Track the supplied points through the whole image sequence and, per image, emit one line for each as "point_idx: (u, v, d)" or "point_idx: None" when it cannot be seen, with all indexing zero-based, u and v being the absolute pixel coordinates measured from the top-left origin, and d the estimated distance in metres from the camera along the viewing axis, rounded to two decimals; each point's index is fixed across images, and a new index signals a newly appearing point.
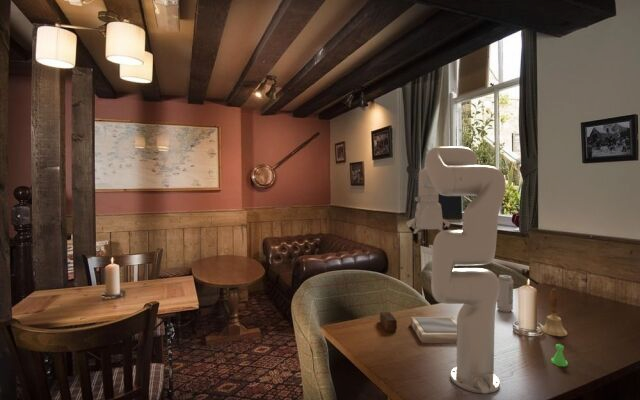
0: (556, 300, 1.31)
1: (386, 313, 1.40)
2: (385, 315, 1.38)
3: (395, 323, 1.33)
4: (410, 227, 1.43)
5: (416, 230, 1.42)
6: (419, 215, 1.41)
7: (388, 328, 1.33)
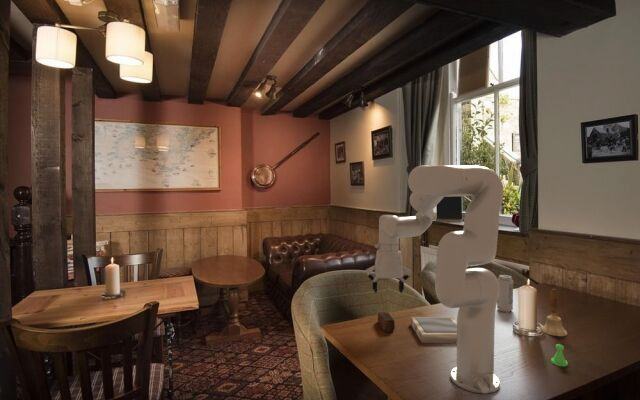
0: (556, 300, 1.31)
1: (384, 313, 1.40)
2: (383, 315, 1.38)
3: (393, 323, 1.33)
4: (369, 275, 1.37)
5: (375, 279, 1.36)
6: (378, 264, 1.35)
7: (386, 328, 1.33)
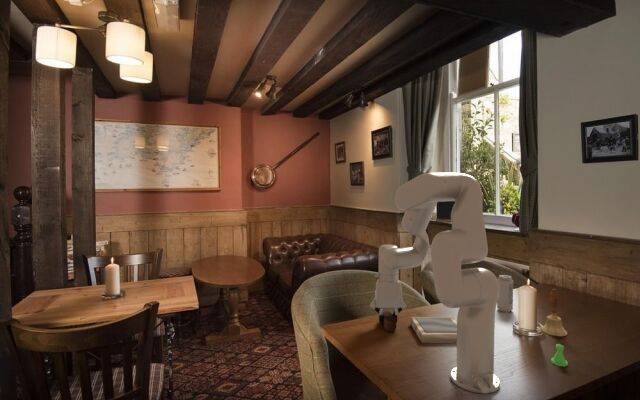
0: (556, 300, 1.31)
1: (386, 312, 1.40)
2: (385, 314, 1.38)
3: (394, 322, 1.33)
4: (375, 308, 1.37)
5: (381, 311, 1.37)
6: (378, 294, 1.35)
7: (387, 327, 1.33)
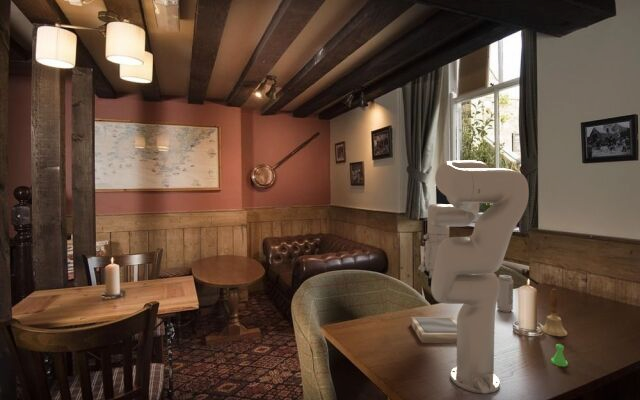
0: (556, 300, 1.31)
1: None
2: None
3: None
4: (425, 271, 1.30)
5: (431, 274, 1.30)
6: (428, 255, 1.28)
7: None
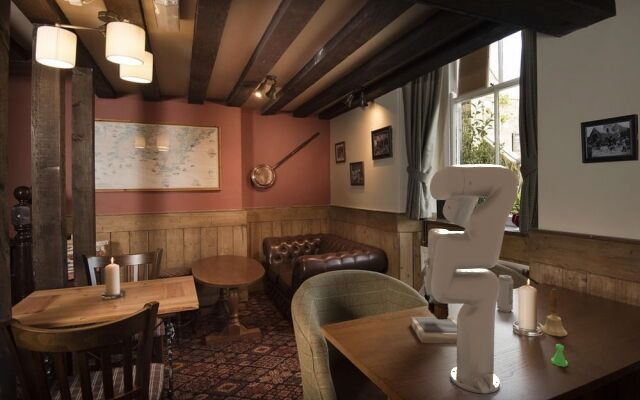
0: (556, 300, 1.31)
1: (435, 300, 1.34)
2: (435, 302, 1.32)
3: (447, 310, 1.27)
4: (425, 296, 1.31)
5: (431, 298, 1.30)
6: (429, 280, 1.29)
7: (439, 315, 1.27)
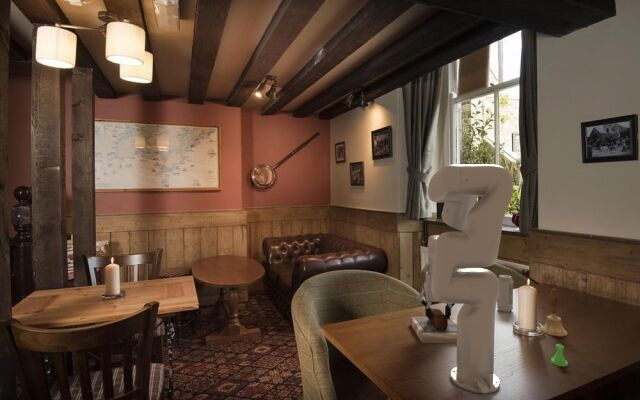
0: (556, 300, 1.31)
1: (435, 310, 1.34)
2: (434, 312, 1.32)
3: (446, 321, 1.26)
4: (422, 301, 1.31)
5: (428, 304, 1.30)
6: (429, 287, 1.29)
7: (438, 326, 1.26)
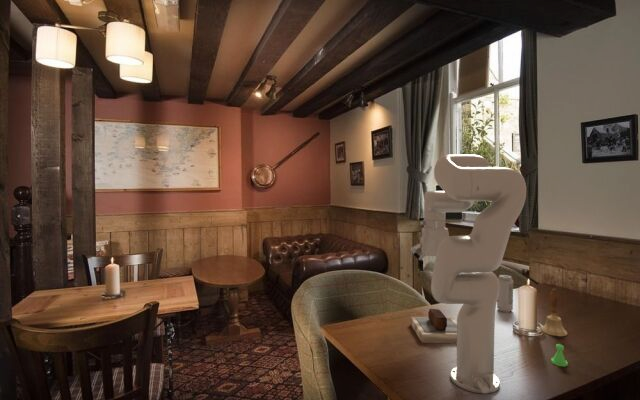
0: (556, 300, 1.31)
1: (435, 310, 1.33)
2: (434, 312, 1.32)
3: (445, 321, 1.26)
4: (415, 253, 1.33)
5: (421, 257, 1.32)
6: (425, 241, 1.30)
7: (437, 326, 1.26)
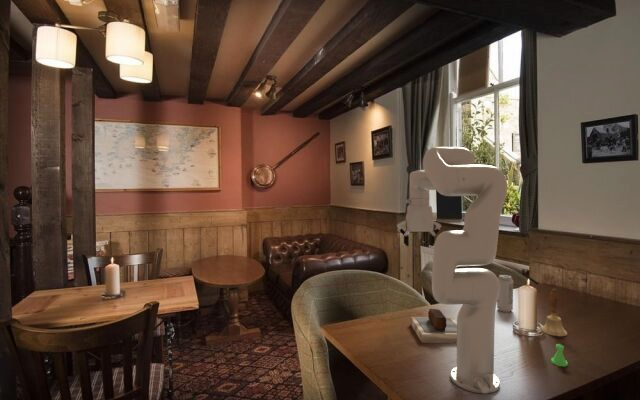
0: (556, 300, 1.31)
1: (435, 310, 1.33)
2: (434, 312, 1.31)
3: (445, 321, 1.26)
4: (401, 229, 1.42)
5: (407, 232, 1.41)
6: (410, 217, 1.40)
7: (437, 326, 1.26)
